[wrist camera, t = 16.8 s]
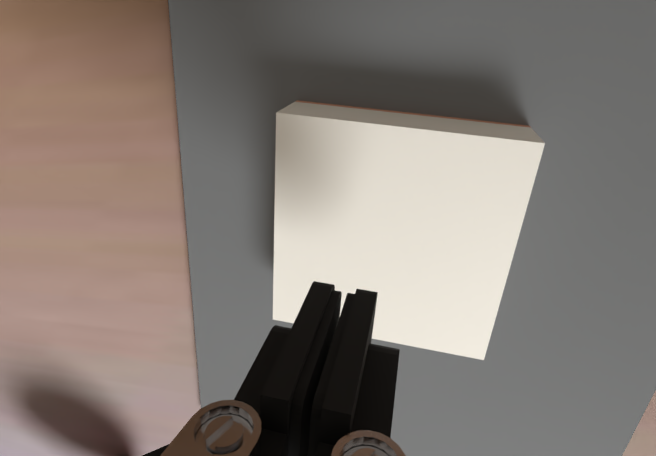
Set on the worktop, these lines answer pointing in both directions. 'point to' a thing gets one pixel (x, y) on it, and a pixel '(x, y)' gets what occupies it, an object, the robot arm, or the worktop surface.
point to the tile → (401, 217)
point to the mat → (537, 228)
